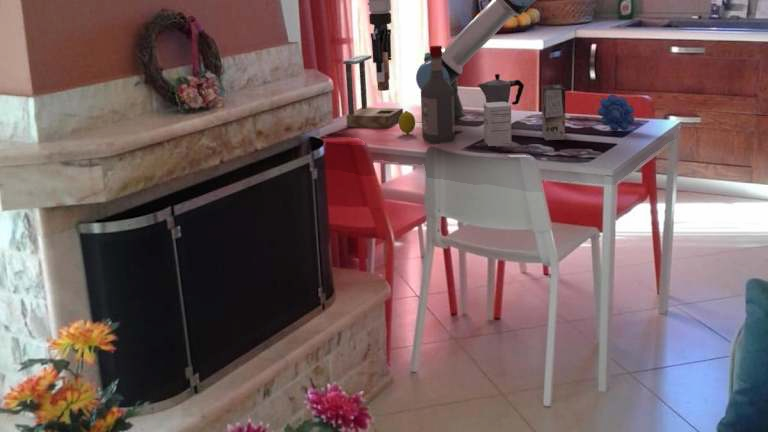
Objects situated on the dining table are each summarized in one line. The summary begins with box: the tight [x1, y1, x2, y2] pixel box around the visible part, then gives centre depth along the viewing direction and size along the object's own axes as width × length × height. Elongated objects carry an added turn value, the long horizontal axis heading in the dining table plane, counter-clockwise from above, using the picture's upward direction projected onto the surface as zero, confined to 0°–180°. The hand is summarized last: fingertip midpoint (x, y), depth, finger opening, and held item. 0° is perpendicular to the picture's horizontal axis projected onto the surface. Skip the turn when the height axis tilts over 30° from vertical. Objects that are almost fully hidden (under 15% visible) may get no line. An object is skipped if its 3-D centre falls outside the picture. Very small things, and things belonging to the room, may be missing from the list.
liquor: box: [420, 45, 456, 144], centre depth 283 cm, size 9×9×30 cm
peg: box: [376, 52, 390, 92], centre depth 311 cm, size 4×4×13 cm
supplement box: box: [483, 102, 512, 147], centre depth 277 cm, size 7×7×13 cm
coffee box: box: [541, 83, 566, 141], centre depth 281 cm, size 9×6×16 cm
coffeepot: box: [477, 73, 525, 127], centre depth 299 cm, size 15×9×18 cm, turn 92°
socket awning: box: [342, 54, 404, 129], centre depth 315 cm, size 16×14×23 cm
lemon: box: [398, 110, 416, 135], centre depth 296 cm, size 6×6×8 cm
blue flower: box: [596, 93, 635, 132], centre depth 284 cm, size 12×7×12 cm, turn 72°
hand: (383, 80), depth 312 cm, fingers closed on peg, 4 cm apart
